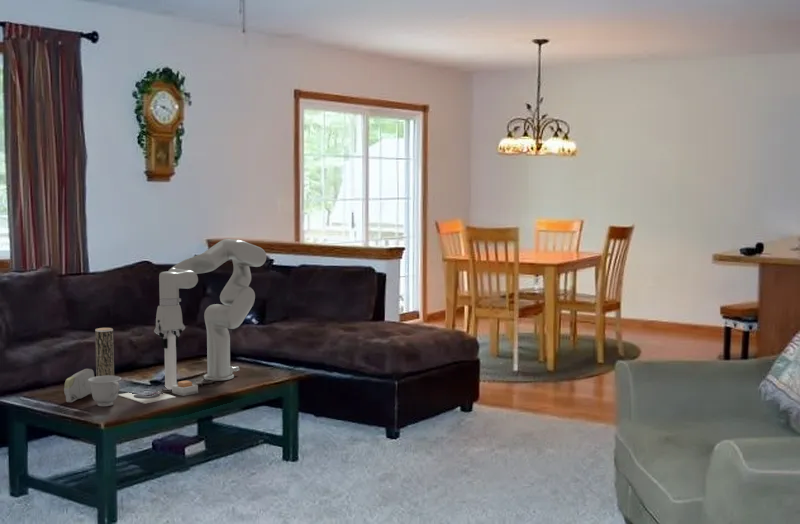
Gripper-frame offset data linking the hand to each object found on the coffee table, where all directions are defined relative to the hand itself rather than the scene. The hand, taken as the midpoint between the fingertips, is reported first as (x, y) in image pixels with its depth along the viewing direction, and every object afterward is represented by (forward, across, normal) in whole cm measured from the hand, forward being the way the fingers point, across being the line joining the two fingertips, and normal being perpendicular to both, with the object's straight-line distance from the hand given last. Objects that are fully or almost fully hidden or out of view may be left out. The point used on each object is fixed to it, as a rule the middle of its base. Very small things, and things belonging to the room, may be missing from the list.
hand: (170, 346), depth 395 cm
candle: (+18, 0, 0) cm, 18 cm away
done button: (+15, 0, +10) cm, 18 cm away
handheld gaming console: (+18, +34, -11) cm, 40 cm away
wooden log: (+18, +20, -16) cm, 31 cm away
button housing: (+17, 0, +10) cm, 20 cm away
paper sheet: (+17, +14, +4) cm, 23 cm away
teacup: (+18, +32, +6) cm, 37 cm away
